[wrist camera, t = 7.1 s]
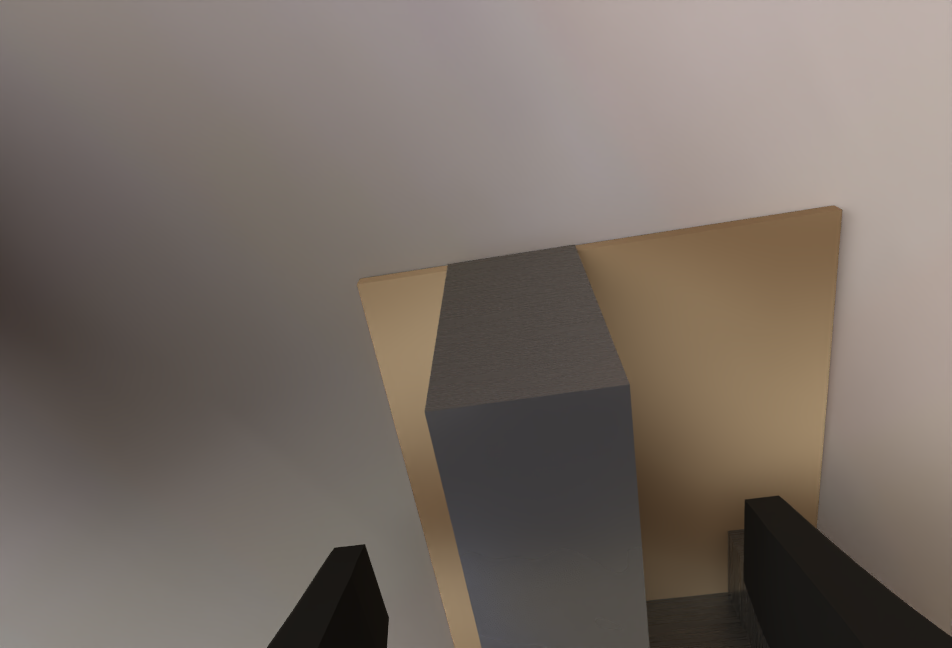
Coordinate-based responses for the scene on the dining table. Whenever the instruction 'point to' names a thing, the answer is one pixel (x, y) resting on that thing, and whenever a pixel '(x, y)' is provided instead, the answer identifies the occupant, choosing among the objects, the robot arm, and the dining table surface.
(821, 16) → the dining table surface
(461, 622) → the plate
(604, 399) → the uneven u-shaped block
